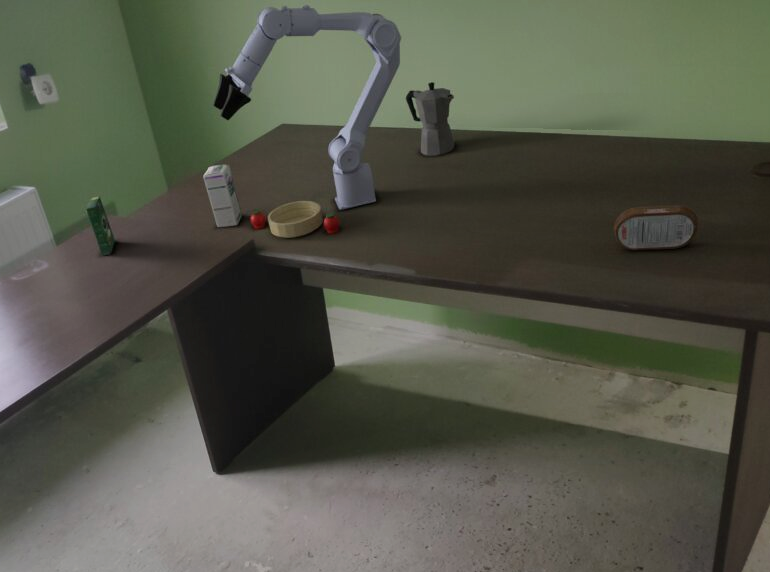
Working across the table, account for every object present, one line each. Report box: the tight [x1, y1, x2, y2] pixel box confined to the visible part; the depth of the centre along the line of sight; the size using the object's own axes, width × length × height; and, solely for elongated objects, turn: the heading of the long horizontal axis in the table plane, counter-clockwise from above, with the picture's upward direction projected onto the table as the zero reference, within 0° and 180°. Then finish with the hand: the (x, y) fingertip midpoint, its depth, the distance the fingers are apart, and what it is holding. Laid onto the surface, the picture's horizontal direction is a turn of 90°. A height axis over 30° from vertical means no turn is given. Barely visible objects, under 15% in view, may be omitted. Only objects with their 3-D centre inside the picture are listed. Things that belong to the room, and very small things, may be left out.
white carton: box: [202, 163, 243, 228], centre depth 223 cm, size 6×6×14 cm
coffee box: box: [85, 195, 116, 256], centre depth 226 cm, size 8×3×13 cm, turn 0°
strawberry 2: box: [323, 212, 340, 234], centre depth 208 cm, size 4×4×4 cm
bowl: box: [267, 200, 324, 239], centre depth 214 cm, size 13×13×4 cm
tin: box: [613, 205, 699, 251], centre depth 169 cm, size 15×3×8 cm, turn 71°
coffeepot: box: [405, 81, 455, 157], centre depth 232 cm, size 15×9×18 cm, turn 44°
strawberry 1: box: [250, 209, 266, 230], centre depth 219 cm, size 4×4×4 cm
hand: (220, 112), depth 203 cm, fingers open, 7 cm apart
